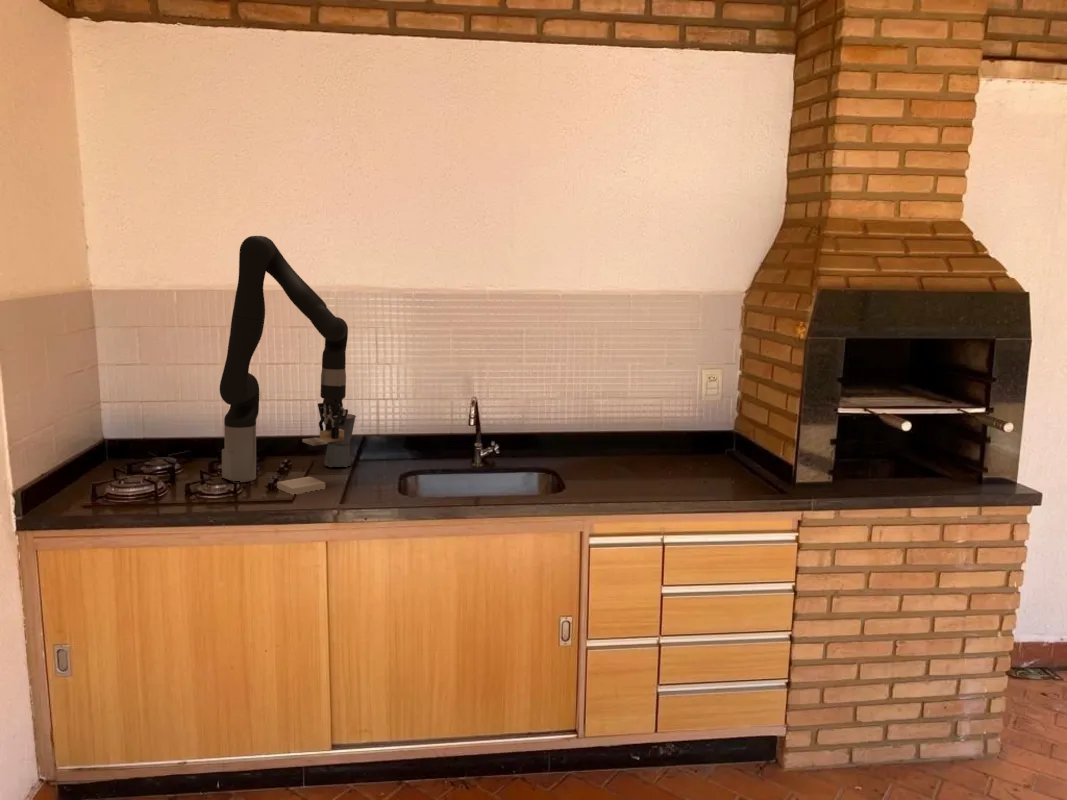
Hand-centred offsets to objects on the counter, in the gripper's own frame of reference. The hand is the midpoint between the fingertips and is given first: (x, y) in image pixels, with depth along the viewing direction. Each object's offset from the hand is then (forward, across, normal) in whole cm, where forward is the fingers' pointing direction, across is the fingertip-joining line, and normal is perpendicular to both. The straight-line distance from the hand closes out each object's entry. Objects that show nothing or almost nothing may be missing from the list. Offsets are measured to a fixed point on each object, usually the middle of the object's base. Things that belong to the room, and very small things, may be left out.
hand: (331, 437), depth 251 cm
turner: (+1, 0, -2) cm, 3 cm away
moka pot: (+15, -17, +13) cm, 26 cm away
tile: (+14, 0, -11) cm, 17 cm away
